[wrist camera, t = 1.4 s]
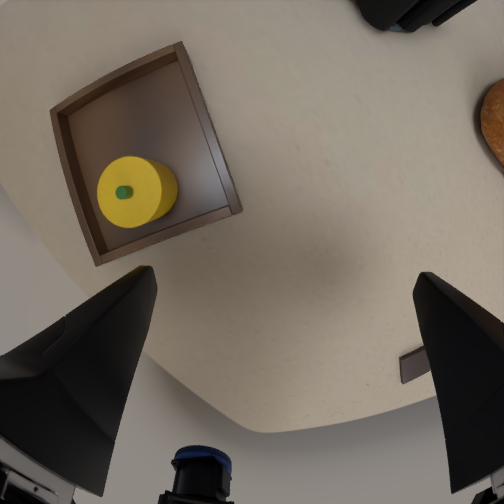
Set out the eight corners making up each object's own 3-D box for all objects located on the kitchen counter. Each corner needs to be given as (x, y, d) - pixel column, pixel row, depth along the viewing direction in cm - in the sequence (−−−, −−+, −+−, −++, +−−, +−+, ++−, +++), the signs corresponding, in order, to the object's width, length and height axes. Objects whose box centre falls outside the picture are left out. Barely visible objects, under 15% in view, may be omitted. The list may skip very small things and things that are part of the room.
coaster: (401, 382, 30) (403, 384, 29) (399, 357, 29) (401, 360, 28) (428, 368, 29) (430, 370, 29) (427, 343, 29) (430, 346, 28)
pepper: (136, 227, 25) (103, 241, 18) (117, 174, 24) (80, 173, 17) (187, 206, 24) (167, 214, 18) (168, 152, 23) (142, 141, 17)
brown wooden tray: (106, 260, 25) (95, 267, 23) (61, 114, 22) (49, 110, 20) (242, 209, 25) (242, 211, 23) (186, 51, 21) (181, 40, 19)
